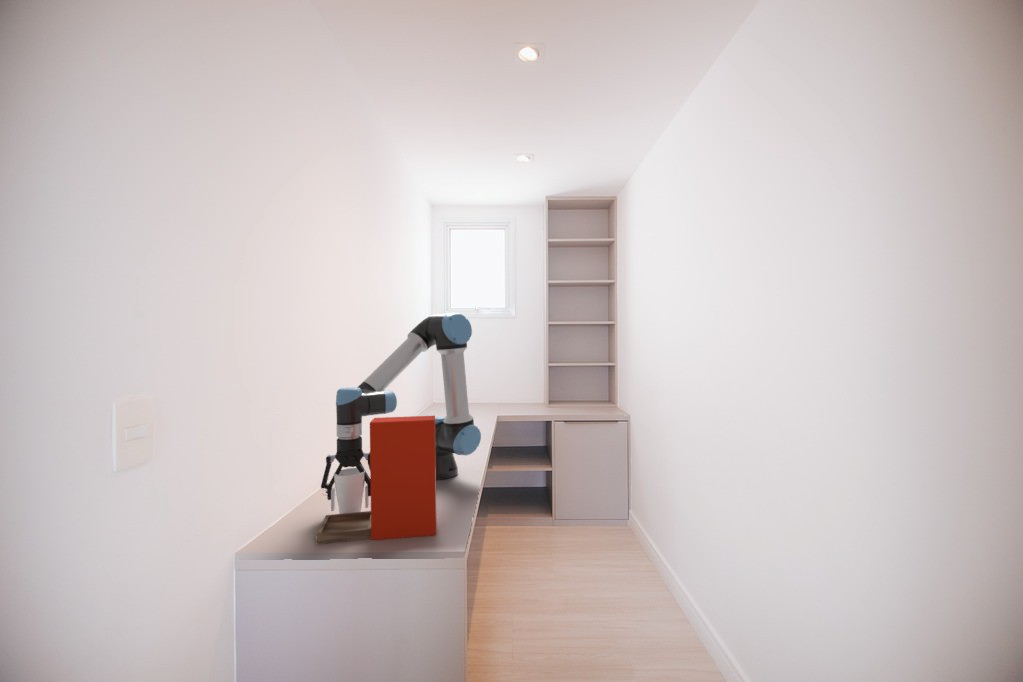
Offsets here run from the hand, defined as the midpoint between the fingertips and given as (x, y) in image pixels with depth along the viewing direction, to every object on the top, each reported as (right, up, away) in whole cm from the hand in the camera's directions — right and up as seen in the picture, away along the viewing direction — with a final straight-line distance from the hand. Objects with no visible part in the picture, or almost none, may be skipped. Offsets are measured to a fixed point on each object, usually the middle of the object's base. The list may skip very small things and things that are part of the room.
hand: (350, 508), depth 141 cm
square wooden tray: (+4, -1, -13) cm, 14 cm away
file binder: (+21, -1, -15) cm, 26 cm away
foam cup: (0, -2, 0) cm, 2 cm away
